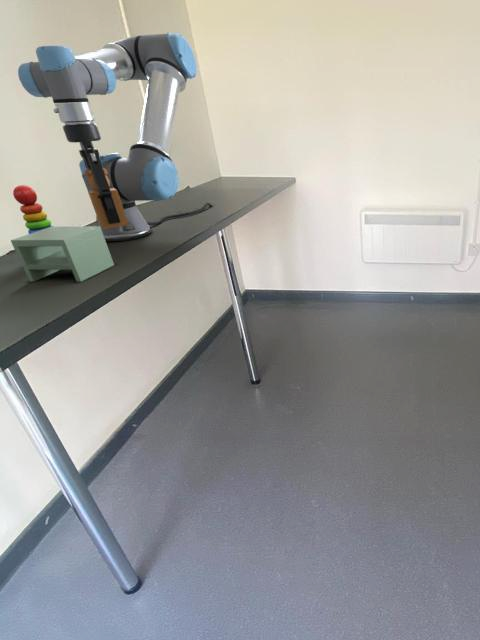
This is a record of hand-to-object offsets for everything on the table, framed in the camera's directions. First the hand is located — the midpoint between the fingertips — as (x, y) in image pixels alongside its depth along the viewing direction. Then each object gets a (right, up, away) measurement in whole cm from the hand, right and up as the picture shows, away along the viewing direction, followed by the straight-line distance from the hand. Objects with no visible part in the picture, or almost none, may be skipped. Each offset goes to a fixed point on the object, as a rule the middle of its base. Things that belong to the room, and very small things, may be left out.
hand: (113, 220), depth 132 cm
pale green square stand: (-5, -17, -9) cm, 19 cm away
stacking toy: (-21, -8, +6) cm, 23 cm away
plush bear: (0, -1, +1) cm, 1 cm away
